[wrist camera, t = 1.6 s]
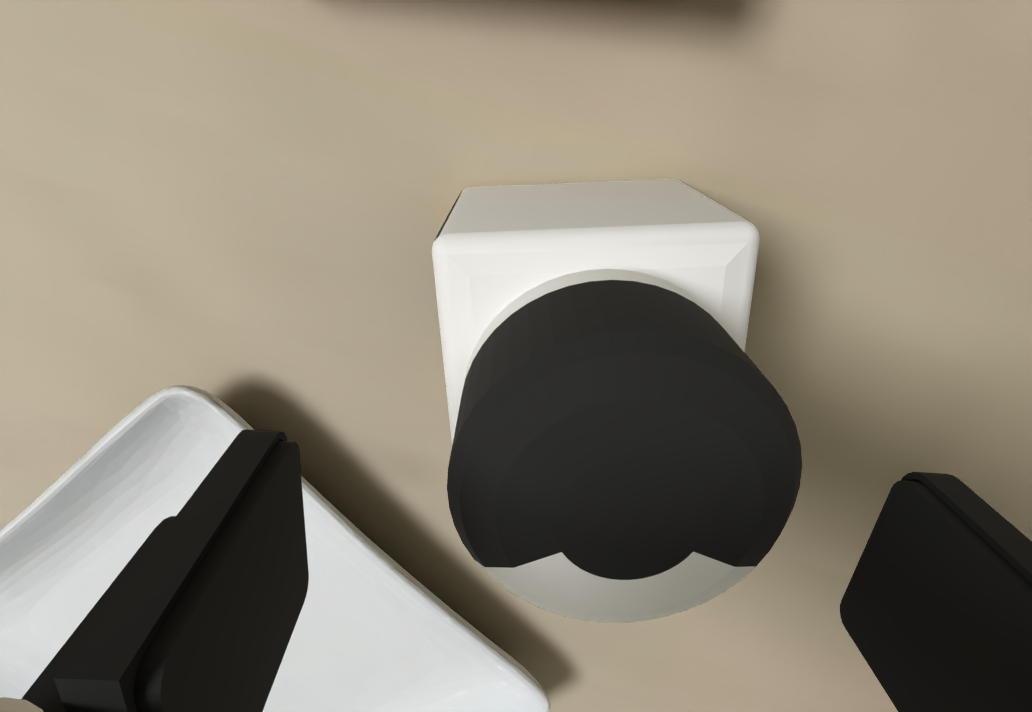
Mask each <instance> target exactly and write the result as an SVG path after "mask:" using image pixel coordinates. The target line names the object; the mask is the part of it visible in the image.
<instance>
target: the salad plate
mask: <svg viewBox="0 0 1032 712" xmlns="http://www.w3.org/2000/svg"><path fill="white" fill-rule="evenodd" d="M245 429H249V430H254V429H253V428H252V427H251V426H250V425H249V424H248V423H247V422H246V421H245V420H244V419H242V418H241V417H240V416H239V415H238V414H237V413H236V412H235V411H233V410H232V409H231V408H230V407H229V406H228V405H226V404H225V403H224V402H222V401H221V400H219V399H218V398H217V397H215V396H213V395H212V394H210V393H208V392H206V391H204V390H202V389H199V388H196V387H191V386H185V385H177V386H170V387H167V388H165V389H162V390H160V391H158V392H157V393H155V394H154V395H152V396H151V397H149V398H148V399H147V400H145V401H144V402H143V403H141V404H140V405H139V406H138V407H137V408H135V409H134V410H133V411H132V412H131V413H130V414H128V415H127V416H126V417H125V418H124V419H122V420H121V421H120V422H119V423H118V424H117V425H115V426H114V427H113V428H112V429H111V430H110V431H109V432H108V433H107V434H106V435H105V436H104V437H103V438H102V439H101V440H99V441H98V442H97V443H96V444H95V445H94V446H93V447H92V448H91V449H90V450H89V451H88V452H87V453H85V454H84V455H83V456H82V457H81V458H80V459H79V460H78V461H77V462H76V463H75V464H74V465H73V466H72V467H70V468H69V469H68V470H67V471H66V472H65V473H64V474H63V475H62V476H61V477H60V478H59V479H58V480H57V481H55V482H54V483H53V484H52V485H51V486H50V487H49V488H48V489H47V490H46V491H45V492H43V493H42V494H41V495H40V496H39V497H38V498H37V499H36V500H35V501H34V502H33V503H32V504H31V505H29V506H28V507H27V508H26V509H25V510H24V511H23V512H21V513H20V514H19V515H18V516H17V517H16V518H14V519H13V520H12V521H11V522H10V523H8V524H7V525H6V526H5V527H4V528H3V529H1V530H0V698H2V697H6V698H14V699H22V697H23V696H24V695H25V693H26V692H27V691H28V690H29V688H30V687H31V686H32V685H33V683H34V682H35V681H36V679H37V678H38V677H39V676H40V674H41V673H42V672H43V670H44V669H45V668H46V667H47V665H48V664H49V663H50V662H51V660H52V659H53V658H54V656H55V655H56V654H57V653H58V651H59V650H60V649H61V647H62V646H63V645H64V644H65V642H66V641H67V640H68V639H69V637H70V636H71V635H72V633H73V632H74V631H75V630H76V628H77V627H78V626H79V625H80V623H81V622H82V621H83V619H84V618H85V617H86V616H87V614H88V613H89V612H90V610H91V609H92V608H93V607H94V605H95V604H96V603H97V602H98V600H99V599H100V598H101V596H102V595H103V594H104V593H105V591H106V590H107V589H108V587H109V586H110V585H111V584H112V582H113V581H114V580H115V579H116V577H117V576H118V575H119V573H120V572H121V571H122V570H123V568H124V567H125V566H126V565H127V563H128V562H129V561H130V559H131V558H132V557H133V556H134V554H135V553H136V552H137V550H138V549H139V548H140V547H141V545H142V544H143V543H144V542H145V540H146V539H147V538H148V536H149V535H150V534H151V533H152V531H153V530H154V529H155V528H156V527H157V526H158V525H159V524H160V523H161V522H162V521H163V520H164V519H166V518H168V517H170V516H177V514H178V513H179V512H180V510H181V509H182V508H183V506H184V505H185V504H186V502H187V501H188V500H189V499H190V497H191V496H192V495H193V493H194V492H195V491H196V489H197V488H198V487H199V485H200V484H201V483H202V481H203V480H204V479H205V477H206V476H207V475H208V473H209V472H210V471H211V469H212V468H213V467H214V465H215V464H216V463H217V461H218V460H219V459H220V458H221V456H222V455H223V454H224V452H225V451H226V450H227V448H228V447H229V446H230V444H231V443H232V442H233V440H234V439H235V438H236V436H237V435H238V434H239V433H240V432H241V431H242V430H245ZM301 480H302V493H303V506H304V519H305V532H306V545H307V559H308V572H309V582H308V590H307V594H306V598H305V601H304V604H303V607H302V609H301V612H300V615H299V617H298V620H297V623H296V625H295V628H294V630H293V633H292V636H291V638H290V641H289V643H288V646H287V649H286V651H285V654H284V657H283V659H282V662H281V664H280V667H279V670H278V672H277V675H276V678H275V680H274V683H273V685H272V688H271V691H270V693H269V696H268V699H267V701H266V704H265V706H264V709H263V712H549V710H550V701H549V698H548V696H547V694H546V692H545V691H544V690H543V688H542V687H541V686H540V684H539V683H538V682H537V680H536V679H535V678H534V677H533V676H532V675H531V674H530V673H529V672H528V671H527V670H526V669H525V668H524V667H523V666H522V665H521V664H519V663H518V662H517V661H516V660H515V659H514V658H512V657H511V656H510V655H508V654H507V653H506V652H505V651H503V650H502V649H501V648H499V647H498V646H497V645H496V644H494V643H493V642H492V641H491V640H489V639H488V638H487V637H486V636H484V635H483V634H482V633H481V632H479V631H478V630H477V629H476V628H474V627H473V626H472V625H471V624H469V623H468V622H467V621H466V620H464V619H463V618H462V617H461V616H459V615H458V614H457V613H456V612H454V611H453V610H452V609H451V608H450V607H448V606H447V605H446V604H445V603H444V602H443V601H441V600H440V599H439V598H438V597H437V596H435V595H434V594H433V593H432V592H431V591H429V590H428V589H427V588H426V587H425V586H423V585H422V584H421V583H420V582H419V581H417V580H416V579H415V578H414V577H413V576H412V575H410V574H409V573H408V572H407V571H406V570H405V569H403V568H402V567H401V566H400V565H399V564H398V563H397V562H395V561H394V560H393V559H392V558H391V557H390V556H388V555H387V554H386V553H385V552H384V551H383V550H382V549H380V548H379V547H378V546H377V545H376V544H375V543H373V542H372V541H371V540H370V539H369V538H368V537H367V536H365V535H364V534H363V533H362V532H361V531H360V530H359V529H358V528H357V527H356V526H355V525H354V524H352V523H351V522H350V521H349V520H348V519H347V518H346V517H345V516H344V515H343V514H342V513H341V512H339V511H338V510H337V509H336V508H335V507H334V506H333V505H332V504H331V503H330V502H329V501H328V500H326V499H325V498H324V497H323V496H322V495H321V494H320V493H319V492H318V491H317V490H316V489H315V488H314V487H313V486H312V485H311V484H310V483H309V482H308V481H307V480H305V479H304V478H303V477H302V476H301Z"/></svg>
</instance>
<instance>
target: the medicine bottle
mask: <svg viewBox="0 0 1032 712" xmlns="http://www.w3.org/2000/svg"><path fill="white" fill-rule="evenodd" d="M759 242H760V238H759V232H758V229H757V228H756V227H755V226H754V225H753V224H752V223H751V222H749V221H748V220H746V219H744V218H742V217H741V216H739V215H737V214H736V213H734V212H732V211H730V210H729V209H727V208H725V207H724V206H722V205H720V204H719V203H717V202H715V201H713V200H712V199H710V198H708V197H707V196H705V195H703V194H701V193H700V192H698V191H696V190H695V189H693V188H691V187H689V186H688V185H686V184H684V183H683V182H681V181H679V180H677V179H672V178H671V179H648V180H624V181H601V182H578V183H555V184H532V185H508V186H485V187H468V188H465V189H463V190H462V192H461V193H460V194H459V196H458V198H457V200H456V202H455V203H454V205H453V207H452V209H451V211H450V213H449V214H448V216H447V218H446V220H445V222H444V224H443V226H442V227H441V229H440V231H439V233H438V235H437V237H436V238H435V240H434V242H433V247H432V257H433V267H434V276H435V286H436V295H437V305H438V314H439V324H440V333H441V343H442V353H443V362H444V372H445V381H446V391H447V400H448V410H449V419H450V429H451V438H452V450H451V456H450V461H449V467H448V482H447V491H448V500H449V508H450V511H451V515H452V518H453V522H454V525H455V528H456V530H457V532H458V534H459V536H460V538H461V540H462V542H463V544H464V545H465V547H466V548H467V550H468V551H469V553H470V554H471V556H472V557H473V558H474V560H475V561H476V562H477V563H478V564H479V565H480V566H481V567H482V568H483V569H484V570H485V571H486V573H487V574H489V575H490V576H491V577H492V578H494V579H495V580H496V581H497V582H499V583H500V584H501V585H502V586H504V587H505V588H506V589H508V590H509V591H510V592H512V593H513V594H515V595H517V596H518V597H520V598H522V599H523V600H525V601H527V602H528V603H531V604H533V605H535V606H537V607H539V608H542V609H544V610H546V611H549V612H552V613H555V614H559V615H562V616H565V617H570V618H575V619H580V620H584V621H595V622H635V621H644V620H650V619H655V618H660V617H665V616H669V615H672V614H675V613H679V612H682V611H685V610H688V609H690V608H693V607H695V606H697V605H700V604H702V603H704V602H707V601H708V600H710V599H712V598H714V597H716V596H717V595H719V594H721V593H723V592H725V591H726V590H727V589H729V588H730V587H732V586H733V585H734V584H736V583H737V582H739V581H740V580H741V579H742V578H744V577H745V576H746V575H747V574H748V573H749V572H750V571H751V570H752V569H754V568H755V567H756V566H757V565H758V563H759V562H760V561H761V560H762V559H763V558H764V557H765V555H766V554H767V553H768V552H769V551H770V549H771V548H772V546H773V544H774V543H775V541H776V540H777V538H778V537H779V535H780V534H781V532H782V530H783V528H784V526H785V524H786V522H787V520H788V518H789V516H790V514H791V511H792V509H793V507H794V504H795V501H796V497H797V494H798V490H799V487H800V478H801V469H802V461H801V445H800V441H799V437H798V433H797V429H796V425H795V423H794V421H793V419H792V416H791V414H790V412H789V410H788V407H787V406H786V404H785V403H784V401H783V400H782V398H781V397H780V395H779V394H778V392H777V391H776V389H775V388H774V387H773V386H772V384H771V383H770V382H769V381H768V380H767V379H766V377H765V376H764V375H763V374H762V373H761V371H760V370H759V369H758V368H757V367H756V366H755V364H754V363H753V362H752V361H751V360H750V359H749V357H748V356H747V355H746V354H745V346H746V338H747V331H748V324H749V316H750V309H751V301H752V294H753V286H754V279H755V272H756V264H757V257H758V249H759Z"/></svg>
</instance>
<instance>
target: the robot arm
mask: <svg viewBox="0 0 1032 712" xmlns="http://www.w3.org/2000/svg"><path fill="white" fill-rule="evenodd" d="M308 582H309V572H308V559H307V545H306V532H305V519H304V506H303V493H302V480H301V467H300V454H299V447H298V444H297V443H296V442H287V437H286V435H285V433H283V432H280V431H265V430H249V429H245V430H242V431H241V432H240V433H239V434H238V435H237V436H236V438H235V439H234V440H233V442H232V443H231V444H230V446H229V447H228V448H227V450H226V451H225V452H224V454H223V455H222V456H221V458H220V459H219V460H218V461H217V463H216V464H215V465H214V467H213V468H212V469H211V471H210V472H209V473H208V475H207V476H206V477H205V479H204V480H203V481H202V483H201V484H200V485H199V487H198V488H197V489H196V491H195V492H194V493H193V495H192V496H191V497H190V499H189V500H188V501H187V502H186V504H185V505H184V506H183V508H182V509H181V510H180V512H179V513H178V514H177V516H170V517H168V518H166V519H164V520H163V521H162V522H161V523H160V524H159V525H158V526H157V527H156V528H155V529H154V530H153V531H152V533H151V534H150V535H149V536H148V538H147V539H146V540H145V542H144V543H143V544H142V545H141V547H140V548H139V549H138V550H137V552H136V553H135V554H134V556H133V557H132V558H131V559H130V561H129V562H128V563H127V565H126V566H125V567H124V568H123V570H122V571H121V572H120V573H119V575H118V576H117V577H116V579H115V580H114V581H113V582H112V584H111V585H110V586H109V587H108V589H107V590H106V591H105V593H104V594H103V595H102V596H101V598H100V599H99V600H98V602H97V603H96V604H95V605H94V607H93V608H92V609H91V610H90V612H89V613H88V614H87V616H86V617H85V618H84V619H83V621H82V622H81V623H80V625H79V626H78V627H77V628H76V630H75V631H74V632H73V633H72V635H71V636H70V637H69V639H68V640H67V641H66V642H65V644H64V645H63V646H62V647H61V649H60V650H59V651H58V653H57V654H56V655H55V656H54V658H53V659H52V660H51V662H50V663H49V664H48V665H47V667H46V668H45V669H44V670H43V672H42V673H41V674H40V676H39V677H38V678H37V679H36V681H35V682H34V683H33V685H32V686H31V687H30V688H29V690H28V691H27V692H26V693H25V695H24V696H23V697H22V699H14V698H6V697H2V698H0V712H263V709H264V706H265V704H266V701H267V699H268V696H269V693H270V691H271V688H272V685H273V683H274V680H275V678H276V675H277V672H278V670H279V667H280V664H281V662H282V659H283V657H284V654H285V651H286V649H287V646H288V643H289V641H290V638H291V636H292V633H293V630H294V628H295V625H296V623H297V620H298V617H299V615H300V612H301V609H302V607H303V604H304V601H305V598H306V594H307V590H308ZM840 614H841V619H842V622H843V624H844V626H845V628H846V630H847V631H848V633H849V635H850V636H851V638H852V639H853V641H854V643H855V644H856V646H857V647H858V649H859V650H860V652H861V654H862V655H863V657H864V658H865V660H866V661H867V663H868V665H869V666H870V668H871V669H872V671H873V672H874V674H875V676H876V677H877V679H878V680H879V682H880V683H881V685H882V687H883V688H884V690H885V691H886V693H887V694H888V696H889V698H890V699H891V701H892V702H893V704H894V705H895V707H896V709H897V710H898V712H1032V542H1031V541H1030V540H1029V539H1028V538H1027V537H1026V536H1024V535H1023V534H1022V533H1021V532H1020V531H1019V530H1017V529H1016V528H1015V527H1014V526H1013V525H1012V524H1010V523H1009V522H1008V521H1007V520H1006V519H1005V518H1003V517H1002V516H1001V515H1000V514H999V513H998V512H996V511H995V510H994V509H993V508H992V507H991V506H989V505H988V504H987V503H986V502H985V501H984V500H982V499H981V498H980V497H979V496H978V495H977V494H975V493H974V492H973V491H972V490H971V489H970V488H968V487H967V486H966V485H965V484H964V483H963V482H961V481H960V480H959V479H958V478H956V477H954V476H953V475H948V474H938V473H922V472H912V473H908V474H907V475H905V476H904V477H903V478H902V480H901V481H898V482H896V483H895V484H894V485H893V487H892V488H891V490H890V493H889V495H888V497H887V499H886V502H885V504H884V506H883V508H882V511H881V513H880V515H879V517H878V520H877V522H876V524H875V526H874V529H873V531H872V533H871V535H870V538H869V540H868V542H867V544H866V547H865V549H864V551H863V553H862V556H861V558H860V560H859V562H858V565H857V567H856V569H855V571H854V574H853V576H852V578H851V580H850V583H849V585H848V587H847V589H846V592H845V594H844V596H843V598H842V601H841V604H840Z"/></svg>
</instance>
